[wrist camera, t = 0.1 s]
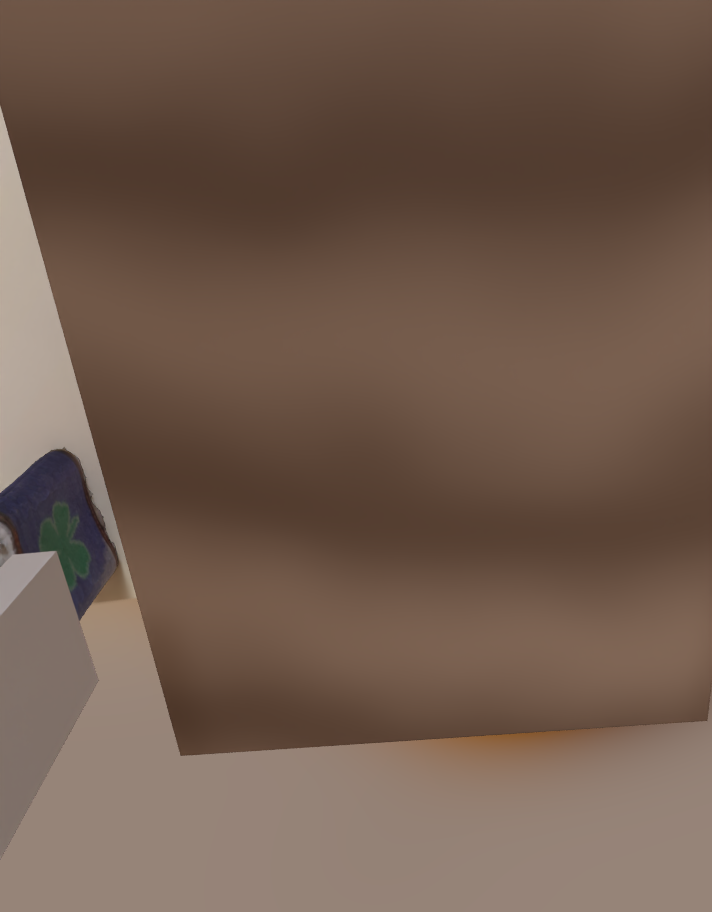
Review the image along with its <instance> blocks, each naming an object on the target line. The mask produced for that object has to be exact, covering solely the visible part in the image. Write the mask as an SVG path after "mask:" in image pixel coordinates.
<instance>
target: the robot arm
mask: <svg viewBox="0 0 712 912" xmlns="http://www.w3.org/2000/svg"><path fill="white" fill-rule="evenodd" d="M98 681H99V680H98V677H97V674H96V671H95V668H94V665H93V662H92V659H91V656H90V653H89V649H88V646H87V643H86V640H85V637H84V634H83V631H82V628H81V625H80V622H79V619H78V615H77V612H76V609H75V606H74V603H73V600H72V597H71V594H70V591H69V588H68V585H67V582H66V579H65V576H64V573H63V569H62V566H61V563H60V560H59V557H58V554H57V551H49V552H38V553H26V554H15V555H12V556H11V557H10V558H9V559H8V560H7V561H6V562H5V563H4V564H3V565H2V566H1V567H0V859H1V858H2V856H3V854H4V852H5V850H6V848H7V847H8V845H9V843H10V841H11V839H12V838H13V836H14V834H15V832H16V830H17V828H18V827H19V825H20V823H21V821H22V819H23V817H24V816H25V814H26V812H27V810H28V808H29V806H30V805H31V803H32V801H33V799H34V797H35V796H36V794H37V792H38V790H39V788H40V786H41V785H42V783H43V781H44V779H45V777H46V776H47V773H48V772H49V770H50V768H51V766H52V765H53V763H54V761H55V759H56V757H57V756H58V754H59V752H60V750H61V748H62V746H63V745H64V743H65V741H66V739H67V737H68V735H69V734H70V732H71V730H72V728H73V726H74V725H75V722H76V721H77V719H78V717H79V715H80V714H81V712H82V710H83V708H84V706H85V704H86V702H87V701H88V699H89V697H90V695H91V694H92V692H93V690H94V688H95V686H96V684H97V683H98Z"/></svg>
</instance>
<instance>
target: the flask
mask: <svg viewBox="0 0 712 912" xmlns="http://www.w3.org/2000/svg"><path fill="white" fill-rule="evenodd" d="M85 478H86V477H85V476H84V474H83V471H82V468H81V465H80V461H79V459H78V458H77V457H76V456H75V455H73V454H71V452H69V451H67V450H66V449H65V447H64V448H63V449H56V450H51V451H50V452H49V453H47V454H45V455H44V456H43V457H41V458H40V459H38V460H37V461H35V463H34V464H32V465H31V466H30V468H28V469H27V470H26V471H25V472H24V473H23V474H22V475H21V476H20V477H18V478H17V479H16V480H15V481H14V482H13V483H12V484H11V485H9V486H8V487H7V488H6V489H5V490H3V491H2V492H1V493H0V567H1V566H2V565H3V564H4V563H5V562H6V561H7V560H8V559H9V558H10V557H11V556H12V555H15V554H26V553H38V552H49V551H57V554H58V557H59V560H60V563H61V566H62V569H63V573H64V576H65V579H66V582H67V585H68V588H69V591H70V594H71V597H72V600H73V603H74V606H75V609H76V612H77V615H78V619H79V621H80V619H81V618H82V616H83V615H84V614H85V612H86V610H87V609H88V608H89V606H90V605H91V604H92V602H93V600H94V599H95V598H96V596H97V595H98V593H99V592H100V591H101V589H102V588H103V586H104V585H105V583H106V582H107V581H108V580H109V578H110V577H111V576H112V574H113V573H114V571H115V570H116V568H117V564H118V561H117V553H116V549H115V546H114V543H113V542H112V543H110V540H109V539H108V535H107V532H106V528H105V527H104V526H105V523H104V521H103V516H102V515H101V513H100V510H98V508H96V506H94V504H93V503H92V501H91V498H90V497H91V496H92V493H90V491H89V490H88V489H87V488H86V485H85Z"/></svg>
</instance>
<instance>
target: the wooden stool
mask: <svg viewBox="0 0 712 912" xmlns="http://www.w3.org/2000/svg"><path fill="white" fill-rule="evenodd" d="M0 106H1V109H2V113H3V117H4V120H5V124H6V127H7V131H8V135H9V138H10V142H11V145H12V149H13V153H14V156H15V160H16V163H17V167H18V171H19V174H20V178H21V181H22V185H23V189H24V192H25V196H26V200H27V203H28V207H29V210H30V214H31V218H32V221H33V225H34V228H35V232H36V236H37V239H38V243H39V246H40V250H41V254H42V257H43V261H44V264H45V268H46V272H47V275H48V279H49V282H50V286H51V290H52V293H53V297H54V300H55V304H56V308H57V311H58V315H59V319H60V322H61V326H62V329H63V333H64V337H65V340H66V344H67V347H68V351H69V355H70V358H71V362H72V365H73V369H74V373H75V376H76V380H77V383H78V387H79V391H80V394H81V398H82V401H83V405H84V409H85V412H86V416H87V419H88V423H89V427H90V430H91V434H92V438H93V441H94V445H95V448H96V452H97V456H98V459H99V463H100V466H101V470H102V474H103V477H104V481H105V484H106V488H107V492H108V495H109V499H110V502H111V506H112V510H113V513H114V517H115V520H116V524H117V528H118V531H119V535H120V538H121V542H122V546H123V549H124V553H125V556H126V560H127V564H128V567H129V571H130V575H131V578H132V582H133V585H134V589H135V593H136V596H137V600H138V603H139V607H140V610H141V614H142V618H143V621H144V625H145V628H146V632H147V636H148V639H149V643H150V647H151V650H152V654H153V657H154V661H155V664H156V668H157V672H158V675H159V679H160V683H161V686H162V689H163V693H164V697H165V701H166V704H167V708H168V712H169V715H170V719H171V722H172V726H173V730H174V733H175V737H176V740H177V744H178V747H179V751H180V755H181V756H183V755H200V754H214V753H230V752H245V751H260V750H275V749H288V748H304V747H320V746H334V745H350V744H364V743H380V742H394V741H408V740H409V741H410V740H425V739H440V738H454V737H469V736H484V735H500V734H515V733H530V732H545V731H560V730H575V729H590V728H604V727H620V726H635V725H650V724H664V723H679V722H695V721H707V719H708V710H709V702H710V693H711V685H712V0H0Z"/></svg>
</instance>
